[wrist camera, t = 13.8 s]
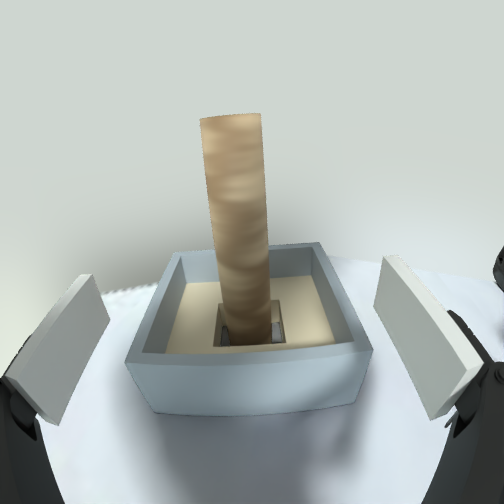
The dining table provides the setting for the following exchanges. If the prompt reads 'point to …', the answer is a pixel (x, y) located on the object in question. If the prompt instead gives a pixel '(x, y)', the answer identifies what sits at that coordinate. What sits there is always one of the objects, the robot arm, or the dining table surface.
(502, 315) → the dining table surface
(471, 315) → the dining table surface
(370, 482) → the dining table surface
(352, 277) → the dining table surface
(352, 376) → the socket box
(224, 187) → the peg
